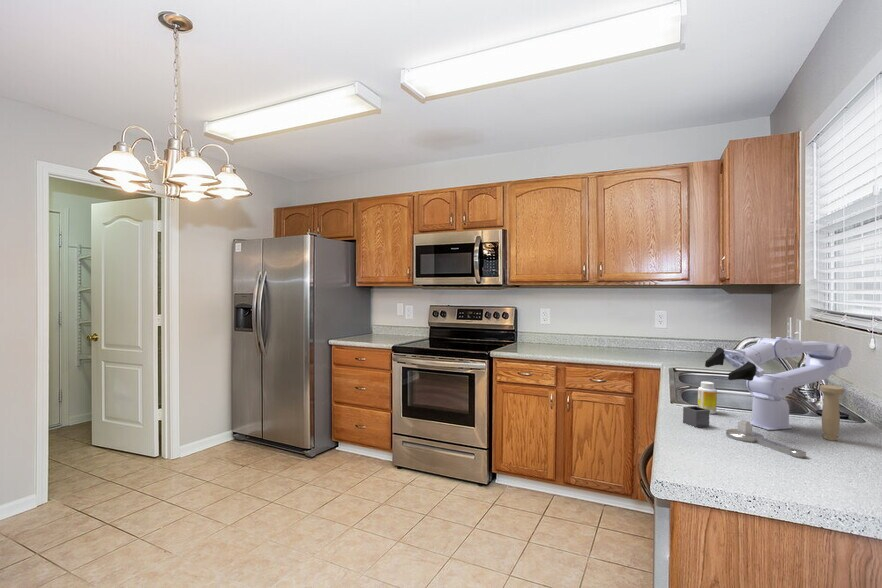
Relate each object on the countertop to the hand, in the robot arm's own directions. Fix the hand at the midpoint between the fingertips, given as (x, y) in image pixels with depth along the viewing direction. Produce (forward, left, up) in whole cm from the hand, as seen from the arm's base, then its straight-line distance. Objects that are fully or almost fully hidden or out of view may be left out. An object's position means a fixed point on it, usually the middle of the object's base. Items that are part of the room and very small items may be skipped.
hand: (717, 370), depth 133 cm
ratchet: (-3, +12, -18) cm, 22 cm away
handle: (-26, +14, -18) cm, 35 cm away
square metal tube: (+1, -6, -18) cm, 19 cm away
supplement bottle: (-15, -17, -18) cm, 29 cm away
